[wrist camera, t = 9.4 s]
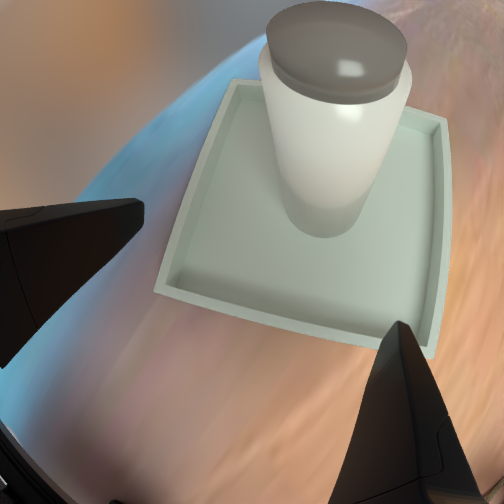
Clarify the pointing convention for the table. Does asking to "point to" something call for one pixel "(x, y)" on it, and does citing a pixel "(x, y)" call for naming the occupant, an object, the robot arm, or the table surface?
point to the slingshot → (494, 490)
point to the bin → (313, 248)
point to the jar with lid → (331, 107)
